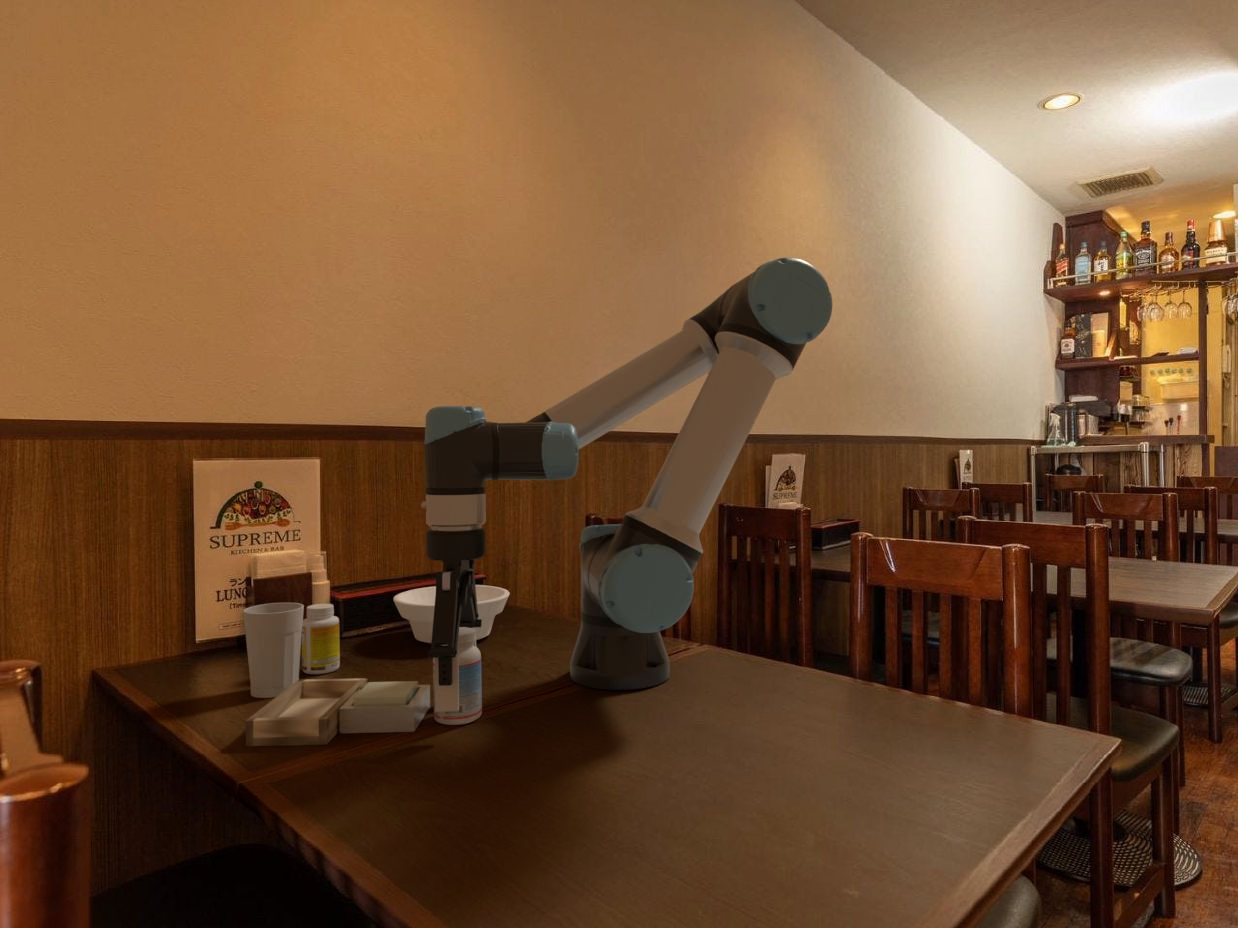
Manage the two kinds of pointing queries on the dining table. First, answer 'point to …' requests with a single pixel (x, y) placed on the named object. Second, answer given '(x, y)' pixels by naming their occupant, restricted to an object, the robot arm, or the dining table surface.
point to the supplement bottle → (320, 640)
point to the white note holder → (385, 714)
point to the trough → (302, 713)
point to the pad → (386, 693)
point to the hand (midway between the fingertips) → (457, 692)
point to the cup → (273, 646)
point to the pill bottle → (465, 682)
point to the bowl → (422, 603)
